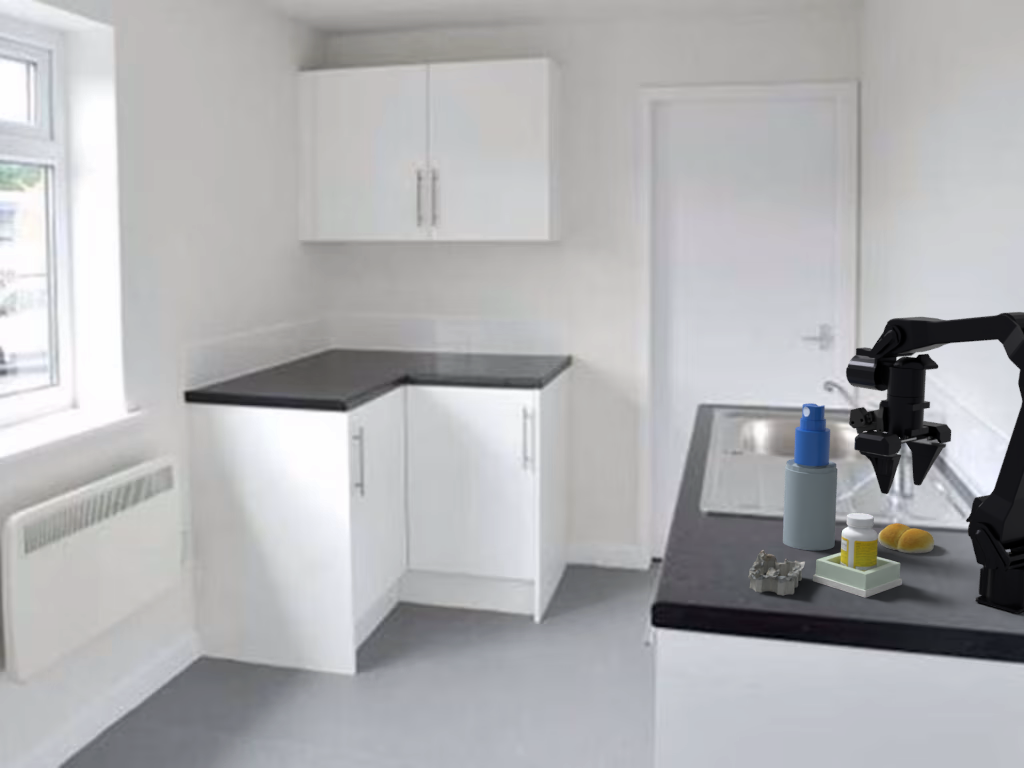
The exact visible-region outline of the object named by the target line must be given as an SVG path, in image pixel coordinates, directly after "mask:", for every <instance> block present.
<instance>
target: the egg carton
mask: <svg viewBox="0 0 1024 768" xmlns="http://www.w3.org/2000/svg"><path fill="white" fill-rule="evenodd" d="M805 564H806V561H798V560H797V559H795V560H794V561H790V560H789V559H788V558H785V559H784V562H777V557H776V556H775V555H774V554H772V553H766V552H765V549H762V550H760V552H759V553H758V554H757V557H756V560H755V561H754V562H753V564H752V566H751V567H750V568H749V572H748V576H747V577H748V578H747V579H749V580H750V581H749V582H750V583H749V589H751V590H753V591H755V593H760V594H761V593H764V592H772V593H775V594H776V595H778V596H783V597H784V596H785V595H794V594H795V588H798V586H799V581H800V582H801V581H802V579H803V578H802V577H803V576H802V575H803V573H802V572H803V569H804V567H805Z"/></svg>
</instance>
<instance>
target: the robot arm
mask: <svg viewBox="0 0 1024 768" xmlns="http://www.w3.org/2000/svg"><path fill="white" fill-rule="evenodd" d="M997 340H998V341H999V343H1001V345H1002V346H1003V349H1004V352H1005V353H1006V355H1007V358H1008V359H1009V361H1011V362H1012V363H1013V365H1014V366H1015V367H1017V368H1018V369H1019V374H1018V382H1017V384H1018V385H1017V386H1018V388H1019V393H1020V397H1021V405H1020V409H1019V411H1018V415H1017V418H1016V420H1015V424H1014V427H1013V430H1012V432H1011V436H1010V439H1009V442H1008V445H1007V448H1006V451H1005V455H1004V457H1003V460H1002V463H1001V467H1000V469H999V473H998V475H997V479H996V482H995V484H994V485H995V486H994V488H993V490H992V492H991V493H990V494H987V495H982V496H978V497H977V496H976V497H975V498H974V499H973V502H972V504H971V510H970V514H969V516H968V517H967V518H966V519H965V522H966V523H969V524H968V526H967V536H968V537H969V538H970V541H971V543H972V548H973V551H974V556H975V560H976V563H977V564H978V565H981V566H982V567H980V569H979V581H978V583H979V584H978V594H979V596H977V597H975V599H974V600H975V602H977V603H980V604H983V605H986V606H990V607H994V608H997V609H1000V610H1004V611H1007V612H1011V613H1014V614H1021V613H1022V612H1024V312H1023V311H1013V312H1010V311H1009V312H1002V313H998V314H996V315H987V316H986V315H985V316H975V317H968V318H965V317H963V318H956V319H949V320H948V319H941V318H936V317H930V316H929V317H927V316H911V317H910V316H909V317H899V318H898V317H896V318H895V317H894V318H891V319H889V320H887V321H886V325H885V326H884V329H883V332H882V333H881V335H880V336H879V337H878V339H877V341H876V342H875V343H874V345H873V346H872V348H871V347H857V348H855V355H854V356H852V358H850V361H849V362H848V364H847V367H846V368H845V369H846V370H845V376H846V377H845V378H846V380H847V382H848V383H849V385H850V386H851V387H854V388H855V387H856V388H861V389H867V390H872V391H873V390H874V391H879V392H886V399H882V400H880V402H879V405H878V409H875V410H871V411H870V410H869V411H868V410H867V409H866V408H865V407H863V406H862V407H857V408H853V409H850V413H849V422H848V424H849V426H850V427H851V428H853V429H855V431H856V433H857V435H856V436H855V437H854V450H855V451H859V454H860V455H862V456H865V457H866V459H868V460H869V461H870V463H871V465H872V467H873V470H874V473H875V477H876V481H877V484H878V487H879V489H880V493H881V494H884V495H888V494H889V493H890V491H891V488H892V486H893V482H894V479H895V476H896V474H897V473H896V472H897V471H898V468H899V464H900V461H901V458H902V454H900V453H899V452H900V451H901V449H902V445H903V444H906V445H907V446H908V448H909V450H910V451H911V464H912V465H911V466H912V480H913V484H914V485H915V486H921V485H922V484H923V482H924V480H925V479H926V477H927V475H928V473H929V472H930V470H931V468H932V466H933V465H934V463H935V462H936V460H937V458H938V457H939V456H940V454H941V452H942V451H943V449H944V448H946V447H947V444H946V443H949V442H952V429H951V428H950V427H949V426H948V424H946V423H941V422H940V423H939V422H932V421H926V420H925V419H924V418H925V417H924V416H925V410H927V409H930V408H931V401H928V400H927V401H926V398H925V397H926V379H927V375H926V374H927V371H930V370H937V369H939V364H937V362H936V361H935V360H934V359H932V357H930V354H929V353H924V352H927V351H931V350H935V349H939V348H941V347H943V346H945V345H949V344H957V343H969V342H983V341H997ZM917 353H922V354H918V355H917V356H916V357H913V355H915V354H917ZM897 358H899V359H897ZM1007 550H1010V551H1007Z"/></svg>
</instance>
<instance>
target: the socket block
mask: <svg viewBox="0 0 1024 768" xmlns="http://www.w3.org/2000/svg"><path fill="white" fill-rule="evenodd" d="M840 564H841V551H840V552H838V553H834V554H830V555H828V556H824V557H821V558H818V559H816V560H815V574H813V575H812V581H813V582H815V583H818V584H821V585H825V586H828V587H830V588H834V589H835V590H840V591H842V592H846V593H848V594H852V595H856V596H859V597H862V598H868V597H869V598H870V597H871V596H874V595H876V594H880V593H882V592H886V591H888V590H891V589H893V588H897V587H899V586H902V584H903V583H902V582H903V578H902V577H901V576H900V575H901V563H900V562H897V561H894V560H891V559H887V558H884V557H880V556H877V567H876V568H873V569H870V570H867V571H860V570H857V569H854V568H850V567H847V566H843V565H840ZM900 577H901V578H900Z"/></svg>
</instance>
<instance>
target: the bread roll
mask: <svg viewBox="0 0 1024 768" xmlns="http://www.w3.org/2000/svg"><path fill="white" fill-rule="evenodd" d="M878 543H880V545H881V546H883V547H884V548H886V549H889V550H893V551H898V552H900V553H905V554H925V553H930V552H931V551H932V550H933V549H934V546H935V539H934V537H933V534H931V533H930V532H929V531H927V530H924V529H920V528H915V527H913V528H911V527H909V526H908V525H906V524H902V523H897V522H896V523H891V524H888V525H886V527H885V528H883V529H882V530H880V531H879V533H878Z"/></svg>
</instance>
